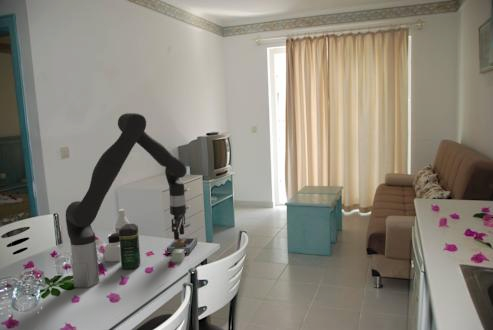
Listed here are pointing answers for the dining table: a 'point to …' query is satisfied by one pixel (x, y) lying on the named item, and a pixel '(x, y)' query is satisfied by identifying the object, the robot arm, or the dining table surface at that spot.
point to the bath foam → (121, 220)
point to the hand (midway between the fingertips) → (179, 236)
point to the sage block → (178, 255)
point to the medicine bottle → (113, 248)
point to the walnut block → (180, 243)
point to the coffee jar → (129, 246)
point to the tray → (189, 247)
